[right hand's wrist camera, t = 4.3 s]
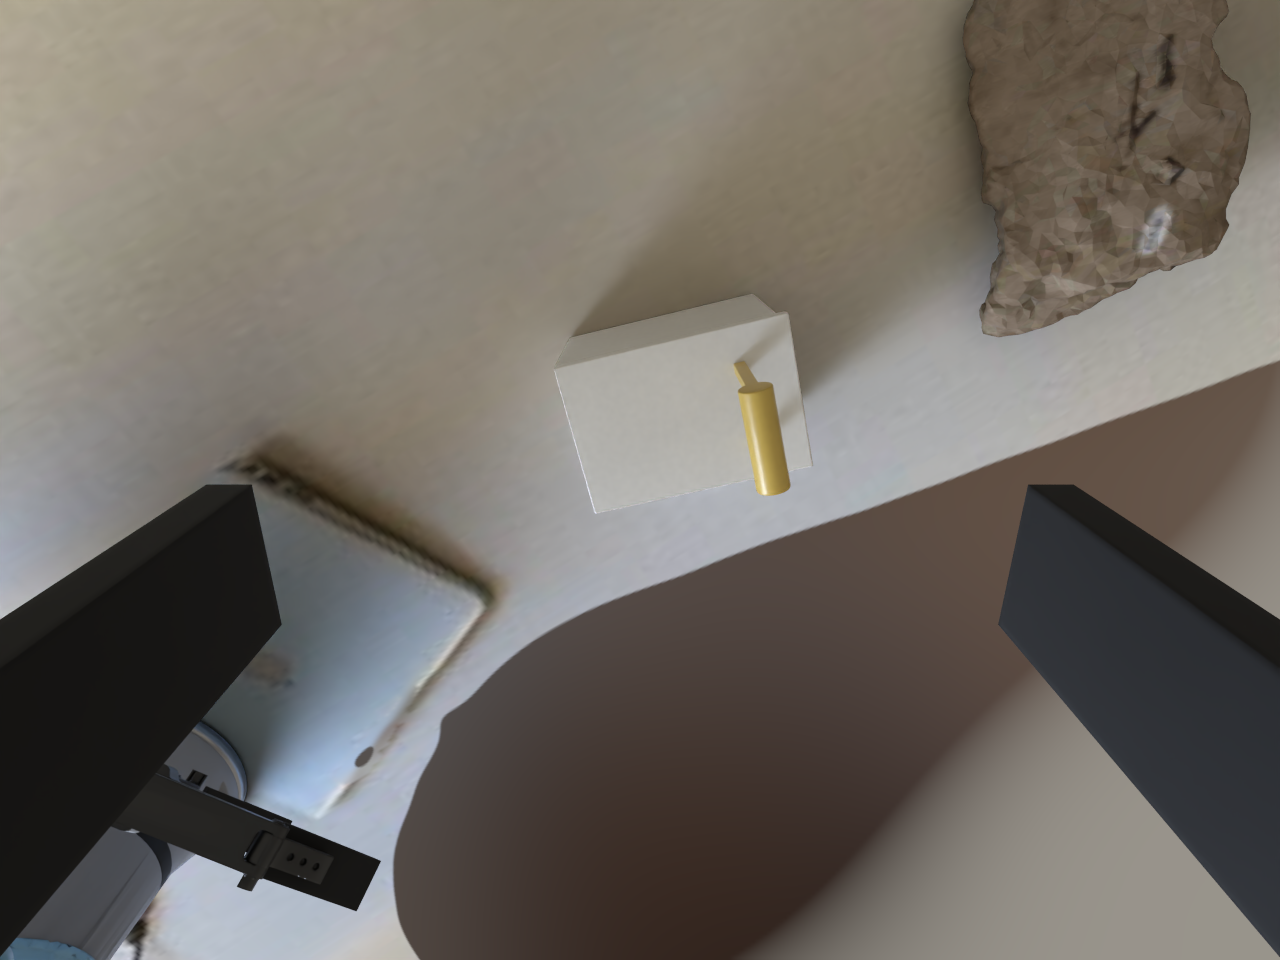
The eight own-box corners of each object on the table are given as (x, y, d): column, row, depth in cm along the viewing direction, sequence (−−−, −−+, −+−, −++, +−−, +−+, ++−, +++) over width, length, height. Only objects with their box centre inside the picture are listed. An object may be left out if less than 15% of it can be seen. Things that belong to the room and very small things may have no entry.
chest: (753, 293, 51) (776, 312, 42) (775, 421, 54) (801, 463, 45) (569, 337, 52) (554, 365, 43) (602, 460, 55) (595, 508, 47)
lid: (786, 310, 42) (818, 335, 34) (810, 462, 45) (845, 516, 38) (554, 365, 43) (535, 402, 35) (595, 508, 47) (586, 570, 39)
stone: (1219, 296, 47) (1270, 297, 42) (975, 338, 52) (992, 344, 46) (1209, -57, 43) (1265, -109, 37) (945, 21, 47) (959, -15, 42)
